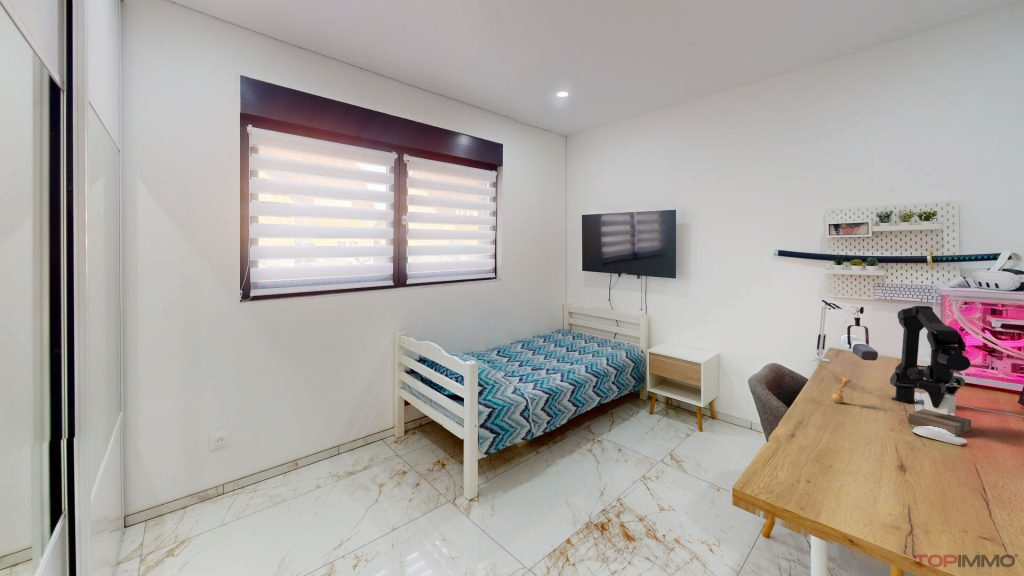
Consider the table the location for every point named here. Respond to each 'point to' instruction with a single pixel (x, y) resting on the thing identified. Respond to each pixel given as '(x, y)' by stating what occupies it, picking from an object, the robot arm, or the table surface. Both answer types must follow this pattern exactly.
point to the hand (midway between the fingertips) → (939, 406)
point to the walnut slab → (940, 421)
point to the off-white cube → (945, 406)
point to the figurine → (837, 396)
